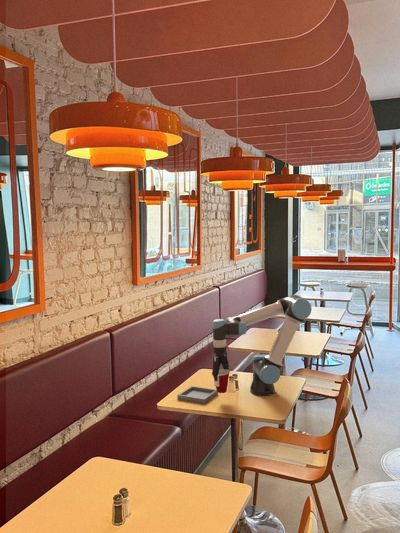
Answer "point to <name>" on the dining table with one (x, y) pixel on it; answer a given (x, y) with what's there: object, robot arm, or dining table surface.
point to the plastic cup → (223, 381)
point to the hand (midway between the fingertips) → (221, 383)
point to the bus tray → (197, 394)
